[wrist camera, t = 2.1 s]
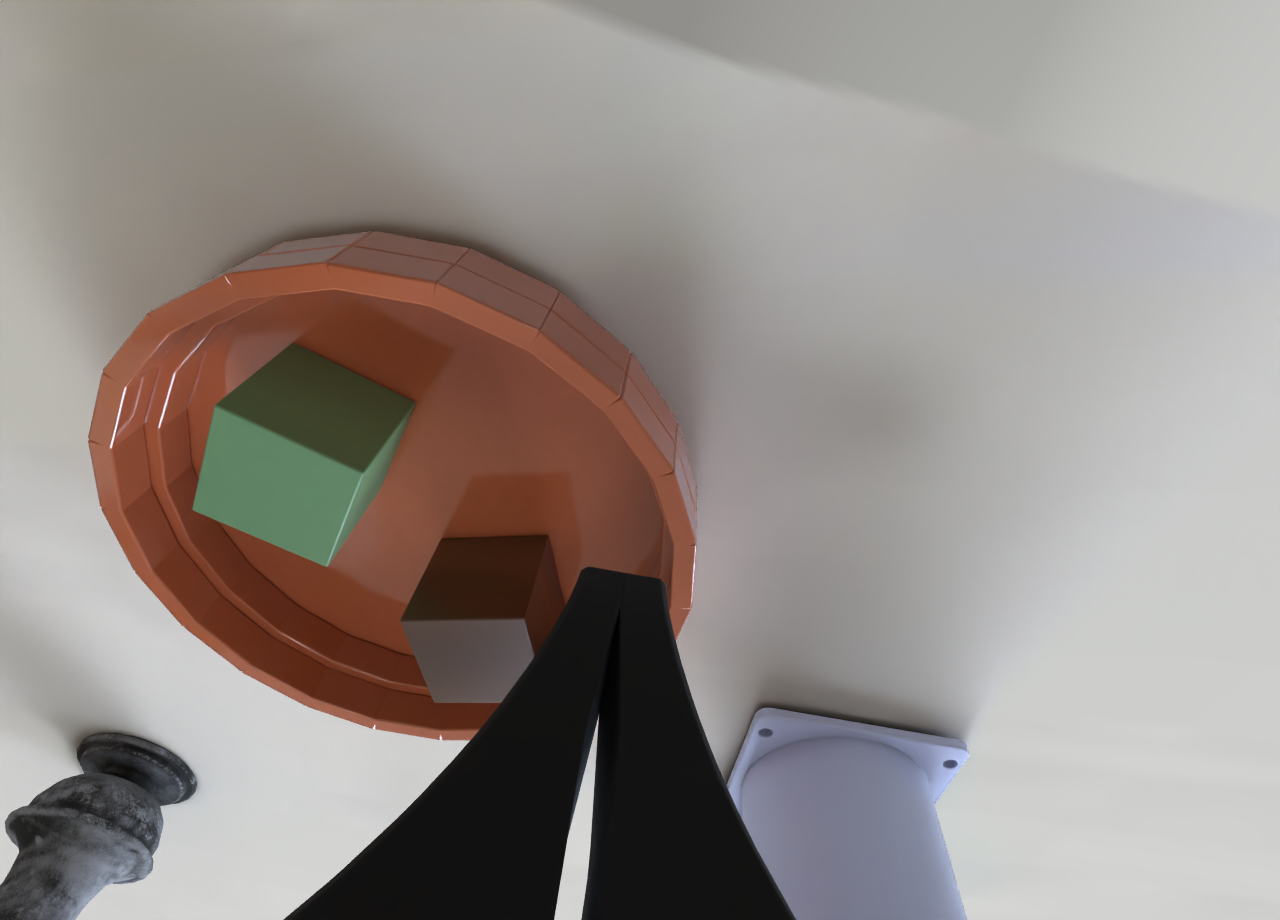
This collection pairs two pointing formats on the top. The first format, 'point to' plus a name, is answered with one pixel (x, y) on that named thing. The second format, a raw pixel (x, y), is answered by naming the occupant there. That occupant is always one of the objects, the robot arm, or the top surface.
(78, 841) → the dark grey tiered piece
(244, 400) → the sage-green cube
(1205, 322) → the top surface
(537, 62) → the top surface
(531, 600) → the walnut cube
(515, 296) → the bowl
